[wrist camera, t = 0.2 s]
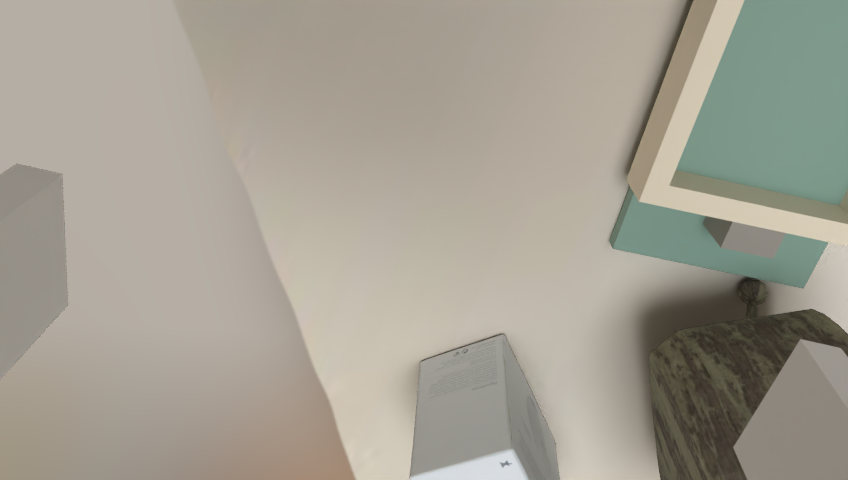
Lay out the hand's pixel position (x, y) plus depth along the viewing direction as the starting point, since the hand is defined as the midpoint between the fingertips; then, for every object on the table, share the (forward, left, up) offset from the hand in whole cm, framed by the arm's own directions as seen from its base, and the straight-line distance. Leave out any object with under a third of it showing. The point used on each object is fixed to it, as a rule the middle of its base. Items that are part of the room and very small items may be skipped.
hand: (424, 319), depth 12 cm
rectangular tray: (+1, +19, -27) cm, 33 cm away
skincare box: (+24, +9, -28) cm, 37 cm away
